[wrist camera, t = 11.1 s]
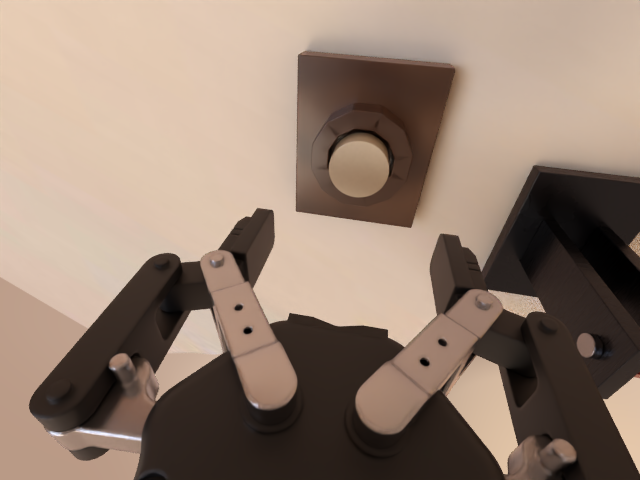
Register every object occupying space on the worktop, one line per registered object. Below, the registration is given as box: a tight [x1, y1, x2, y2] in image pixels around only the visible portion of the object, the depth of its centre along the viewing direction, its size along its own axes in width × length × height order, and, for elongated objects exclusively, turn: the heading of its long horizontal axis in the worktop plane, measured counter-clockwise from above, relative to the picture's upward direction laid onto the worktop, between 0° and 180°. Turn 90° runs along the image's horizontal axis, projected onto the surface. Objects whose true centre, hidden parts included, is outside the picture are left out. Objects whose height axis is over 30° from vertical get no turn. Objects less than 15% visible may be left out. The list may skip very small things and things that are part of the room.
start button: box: [329, 132, 389, 197], centre depth 22 cm, size 4×4×2 cm
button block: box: [296, 51, 455, 228], centre depth 24 cm, size 12×10×4 cm
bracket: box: [481, 166, 640, 399], centre depth 22 cm, size 12×9×13 cm
